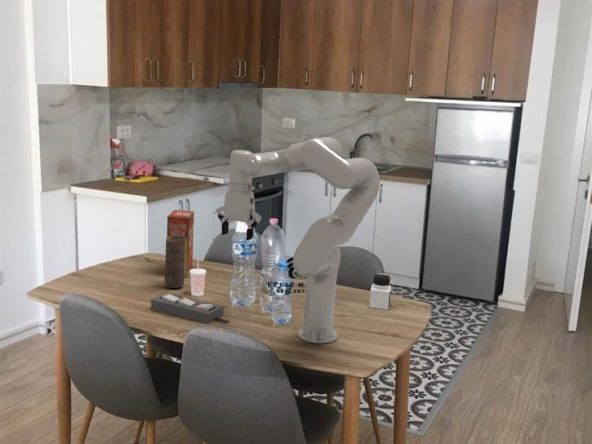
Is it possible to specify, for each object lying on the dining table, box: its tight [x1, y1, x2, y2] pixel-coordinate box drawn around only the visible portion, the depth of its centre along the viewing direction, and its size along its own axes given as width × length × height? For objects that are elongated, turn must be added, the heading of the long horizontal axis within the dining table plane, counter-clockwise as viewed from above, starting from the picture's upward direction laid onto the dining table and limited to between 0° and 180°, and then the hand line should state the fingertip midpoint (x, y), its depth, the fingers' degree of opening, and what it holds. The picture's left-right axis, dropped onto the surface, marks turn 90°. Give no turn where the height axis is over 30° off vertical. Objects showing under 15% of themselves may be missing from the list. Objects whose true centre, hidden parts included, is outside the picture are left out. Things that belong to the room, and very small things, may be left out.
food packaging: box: [166, 209, 195, 279], centre depth 264 cm, size 13×9×25 cm
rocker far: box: [162, 293, 180, 302], centre depth 224 cm, size 5×4×1 cm
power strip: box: [150, 292, 230, 325], centre depth 221 cm, size 29×9×4 cm, turn 62°
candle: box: [164, 235, 185, 289], centre depth 246 cm, size 8×7×20 cm
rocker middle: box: [178, 298, 196, 306], centre depth 221 cm, size 5×4×1 cm
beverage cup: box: [189, 257, 207, 297], centre depth 240 cm, size 6×6×14 cm
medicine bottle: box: [368, 273, 392, 311], centre depth 238 cm, size 7×7×12 cm
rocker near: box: [195, 303, 214, 311], centre depth 218 cm, size 5×4×1 cm
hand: (237, 236), depth 220 cm, fingers open, 9 cm apart
